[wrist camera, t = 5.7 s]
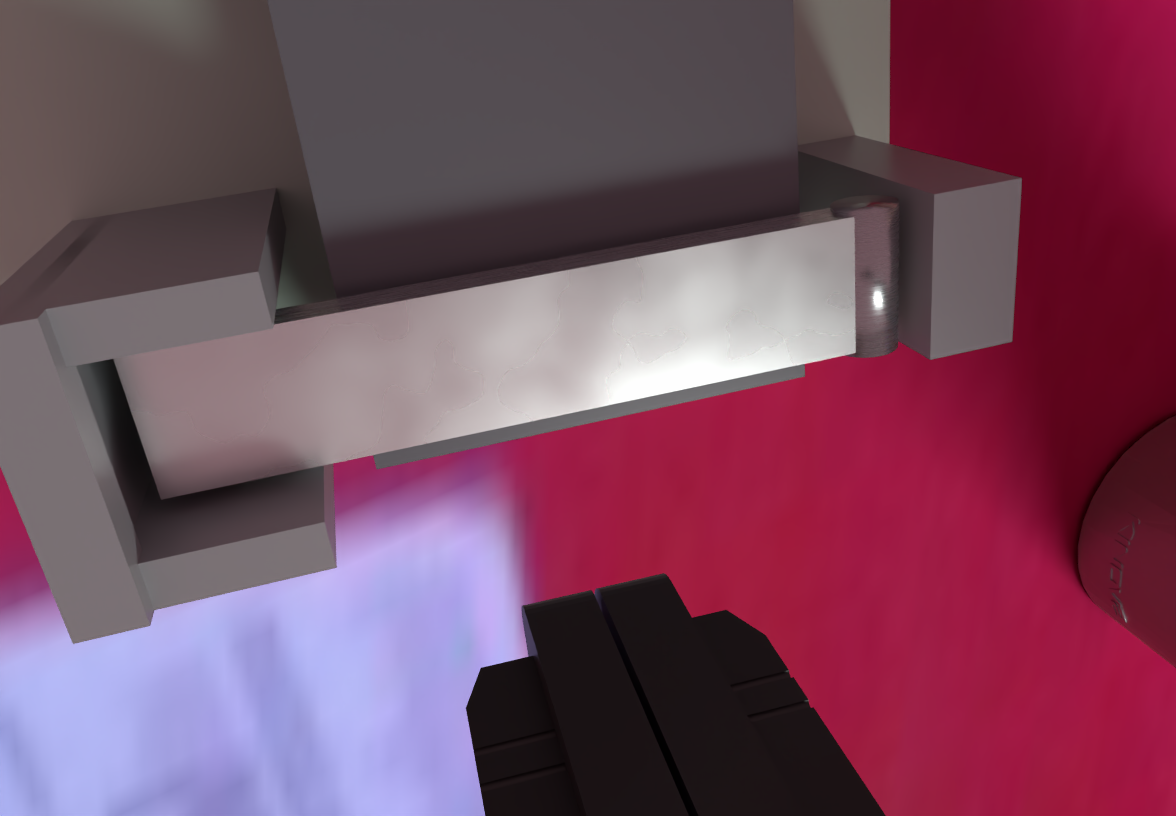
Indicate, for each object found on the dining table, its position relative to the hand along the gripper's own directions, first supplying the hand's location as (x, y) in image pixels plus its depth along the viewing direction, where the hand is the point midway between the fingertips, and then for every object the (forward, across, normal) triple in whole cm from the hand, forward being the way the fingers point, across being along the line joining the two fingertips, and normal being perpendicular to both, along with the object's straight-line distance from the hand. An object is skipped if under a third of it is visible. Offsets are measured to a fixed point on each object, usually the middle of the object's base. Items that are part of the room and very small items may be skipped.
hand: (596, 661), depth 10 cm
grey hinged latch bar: (+12, -1, 0) cm, 12 cm away
